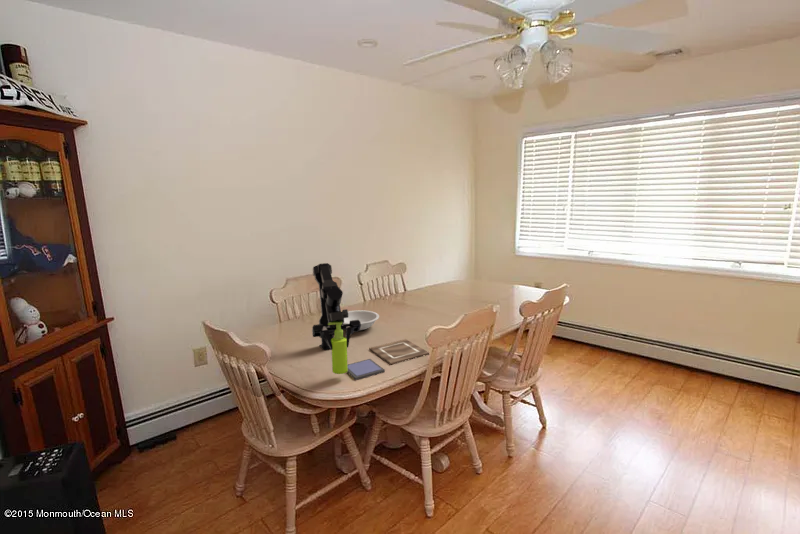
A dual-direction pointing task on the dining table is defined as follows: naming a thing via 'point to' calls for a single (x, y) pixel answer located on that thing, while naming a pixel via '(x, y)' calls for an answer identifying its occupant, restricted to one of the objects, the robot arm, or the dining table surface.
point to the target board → (398, 351)
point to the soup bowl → (362, 318)
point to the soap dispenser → (339, 350)
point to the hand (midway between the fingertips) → (339, 348)
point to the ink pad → (364, 369)
